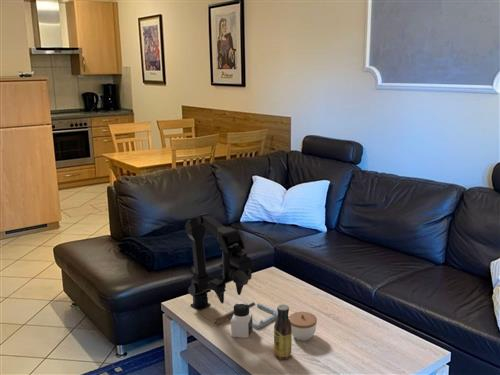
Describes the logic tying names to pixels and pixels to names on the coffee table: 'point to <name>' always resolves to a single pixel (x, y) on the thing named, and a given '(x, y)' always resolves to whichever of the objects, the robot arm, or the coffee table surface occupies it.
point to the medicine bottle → (241, 321)
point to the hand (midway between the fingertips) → (230, 298)
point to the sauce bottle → (282, 334)
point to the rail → (249, 306)
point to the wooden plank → (224, 317)
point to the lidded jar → (303, 325)
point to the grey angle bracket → (269, 319)
